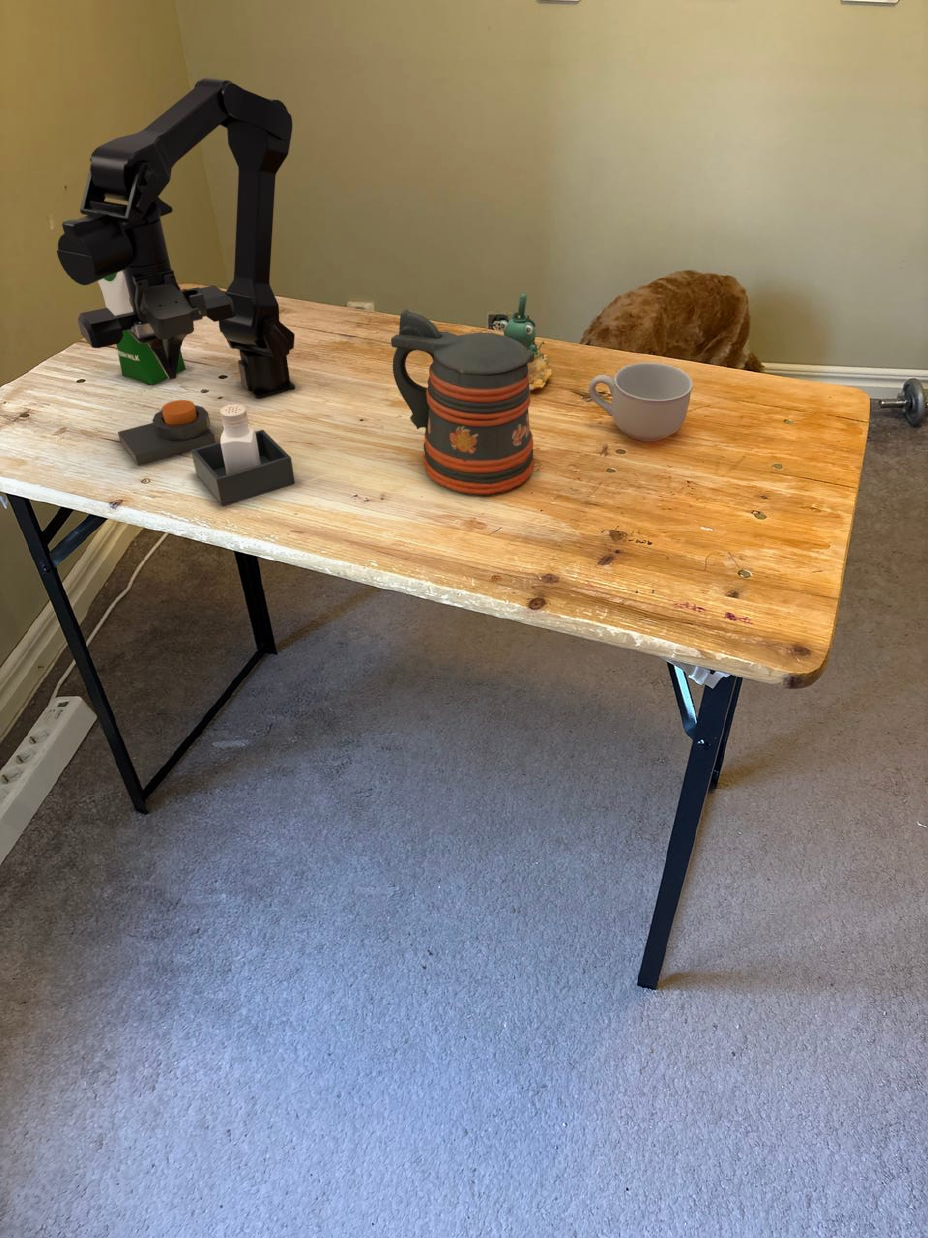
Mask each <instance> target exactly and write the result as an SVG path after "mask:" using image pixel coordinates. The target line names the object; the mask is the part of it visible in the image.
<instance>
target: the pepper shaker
mask: <svg viewBox="0 0 928 1238" xmlns="http://www.w3.org/2000/svg"><path fill="white" fill-rule="evenodd" d="M219 413H220V418H221V425H222V427H223V430H222V433H221V436H220V441H219V442H220V443H221V448H222V453H223V458H224V463H225V468H226V473H227V474H231V473H234V472H237V471H241V470H244V469H247V468H251V467H254V466H257V465H261V462H260V457H259V451H258V445H257V439H256V433H255V432H256V429H254V428H253V427H251V426H249V419H248V412H247V408H246V406H245V405H243V404H236V403H233V404H228V405H225V406H223V407H222V408H221V409H220V410H219Z"/></svg>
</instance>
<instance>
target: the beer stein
mask: <svg viewBox="0 0 928 1238" xmlns="http://www.w3.org/2000/svg"><path fill="white" fill-rule="evenodd" d="M398 328H399V329H398V330H399V331H398V333H397V334H395V335H393V336H392V337H391V338H390V343H391V347H392V348H395V352H394V354H393V358H392V374H393V378H394V382H395V384H396V387H397V389H398V391H399V393H400V395H401V396H402V398H403V401H404V402H405V403H406V405H407V406H408V408H409V410H410V411H411V416H409V420H410V422H411V423H412V424H413V425H414V426H415V427H416V429H417V430H420V428H424V429H425V430H424V437H423V438H424V443H423V452H424V454H423V466H424V467H423V468H424V470H425V471H426V474H427V475H428V477H429V478H430V479H431V480H432V481H433V483H436V484H437V485H439V486H441V487H443V488H446V489H447V490H451V491H454V492H458V493H462V494H468V495H475V496H486V495H496V494H500V493H504V492H508V491H510V490H512V489H516V488H518V487H519V486H521V485H522V484H524V483H525V482H527V481H528V479H529V478H530V477H531V476H532V474H533V472H534V471H533V470H534V468H535V461H534V459H535V458H534V449H533V448H534V436H533V433H532V431H531V429H530V414H529V413H530V411H529V407H530V405H531V400H532V399H531V391H530V388H529V380H528V365H527V364H528V363H531V362H533V361H534V352H528V350H527V349H526V348H525V346H523V345H522V344H521V343H519V342H518V341H516V340H514V339H512V338H509V337H507V336H504V334H503V335H502V334H499V333H493V332H473V333H472V332H471V333H464V334H459V335H457V334H455V333H453V332H451V331H450V332H449V331H441V330H438V328H437V326H436V325H435V324H434V323H433V322H432V321H431V320H430V319H428V318H426V317H425V316H424V315H422V314H419V313H416V312H412V311H409V310H408V309H403V310H402V312H401V313H400V317H399V327H398ZM414 351H420V352H424V353H426V354H428V355H429V356H430V357H431V359H432V363H431V364H430V365H429V368H428V374H429V376H428V379H427V386H422V385H420V384H419V383H417V382H416V381H415V380H413V379H412V378H411V377H410V375H409V373H408V371H407V367H406V366H407V365H406V362H407V357H408V356H409V354H410V353H412V352H414Z"/></svg>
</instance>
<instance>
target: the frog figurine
mask: <svg viewBox="0 0 928 1238" xmlns="http://www.w3.org/2000/svg"><path fill="white" fill-rule="evenodd" d="M527 298H528V295H527V293H525V292H522V293H520V295H519V303H518V309H517V311H515V312H514V313H513V315H512V318H511V319H510V320H509V321H507V320H506V317H507V316H506V315H505V314H504V313H500V314H498V315H497V316H496V321H497V322H498V321H499V326H500V329H501V330H502V331H503V336H507V337H509V338H512V339H514V340H516V341H518V342H519V343H521V344H522V345H523V346H525V348H526V349H527V350H528V352H534V361H533V362H531V363H528V364H527V365H528V380H529V388H530V392H531V391H534V390H535V389H536V390H540V389H544V387H545V385H546V382H547V381H548V379H550V377H551V375H553V374H552V373H553V370H552V369H551V368H550V367H551V365H549V364H550V361H548V354H547V353H543V352H541V348H542V346H543V345H544V346H545V342H544V341H541V343H540V345H539V347H538V344H537V343H536V336H537V335H536V331H537V330H536V323H535V322H534V320H533V319H531V318H530V315H528V314H526V313H525V312H526V305H527ZM525 314H526V315H525ZM500 319H501V320H500Z"/></svg>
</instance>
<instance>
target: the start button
mask: <svg viewBox="0 0 928 1238" xmlns="http://www.w3.org/2000/svg"><path fill="white" fill-rule="evenodd" d="M195 405H196V404H195V403H194V402H193V401H191V400H187V399H178V400H177V399H176V400H172V401H169V402H167V403H165V404H164V405H163V406H162V407H161V410H162V413H163V417H164V421H165V423H167V424H171V425H182V424H186V423H190V422H192V421H194V420H195V419H196V418H197V414H196V409H195Z"/></svg>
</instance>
